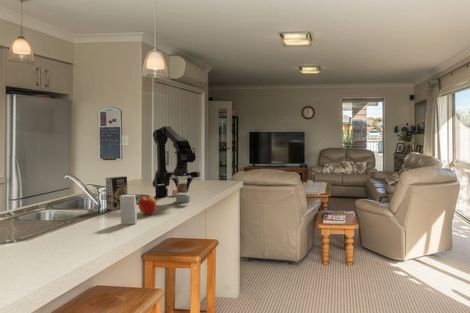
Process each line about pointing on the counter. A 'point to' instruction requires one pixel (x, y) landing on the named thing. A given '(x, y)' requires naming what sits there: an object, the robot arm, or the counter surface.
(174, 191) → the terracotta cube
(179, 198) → the base block
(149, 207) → the apple
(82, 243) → the counter surface
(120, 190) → the coffee box
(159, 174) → the robot arm
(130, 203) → the skincare box
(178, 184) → the walnut cube
